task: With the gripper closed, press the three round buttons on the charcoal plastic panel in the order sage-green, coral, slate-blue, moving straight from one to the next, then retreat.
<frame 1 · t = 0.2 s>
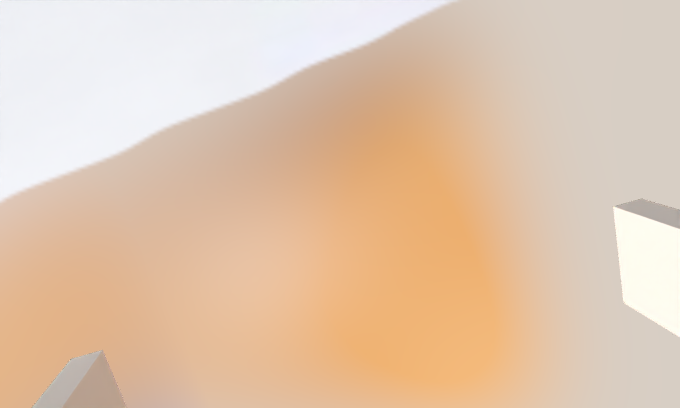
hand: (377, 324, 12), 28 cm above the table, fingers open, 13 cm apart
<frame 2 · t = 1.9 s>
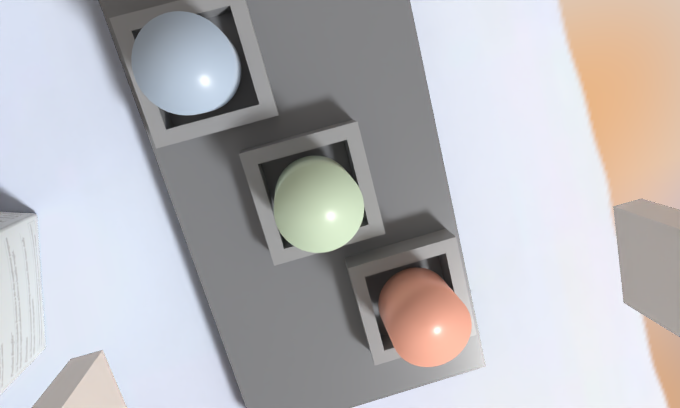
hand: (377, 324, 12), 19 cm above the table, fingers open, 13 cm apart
coral button: (422, 315, 27), point 5 cm above the table, slide at 0.0 cm
sage button: (316, 201, 25), point 5 cm above the table, slide at 0.0 cm
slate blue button: (191, 66, 23), point 5 cm above the table, slide at 0.0 cm
panel: (311, 183, 30), on the table
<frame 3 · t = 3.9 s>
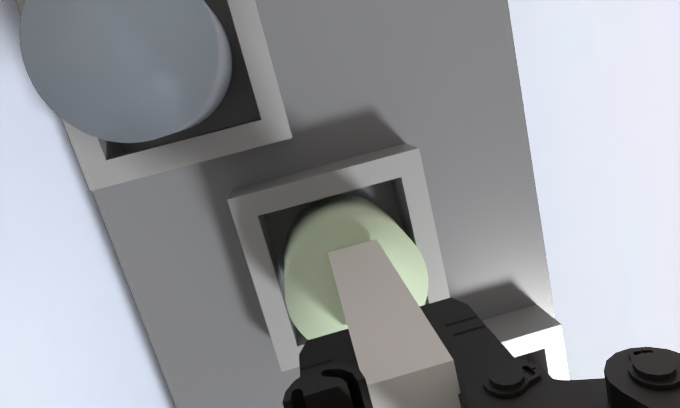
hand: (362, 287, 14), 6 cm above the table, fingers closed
sage button: (349, 269, 16), point 4 cm above the table, slide at 1.2 cm, touching gripper
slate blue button: (142, 55, 13), point 5 cm above the table, slide at 0.0 cm
panel: (335, 233, 20), on the table
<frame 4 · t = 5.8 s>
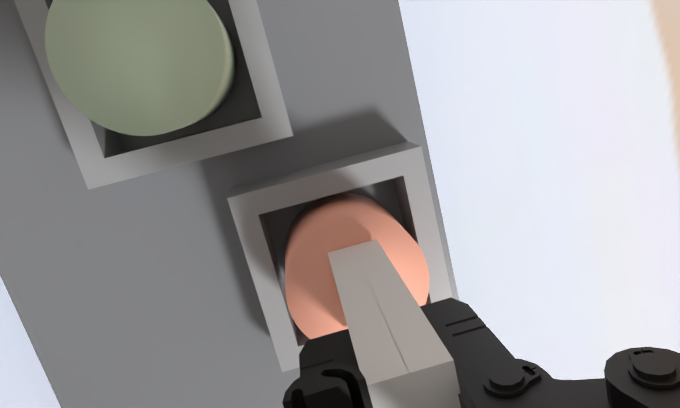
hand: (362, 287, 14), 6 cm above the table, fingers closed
coral button: (350, 267, 16), point 4 cm above the table, slide at 1.3 cm, touching gripper
sage button: (154, 55, 14), point 4 cm above the table, slide at 1.3 cm
panel: (182, 64, 18), on the table
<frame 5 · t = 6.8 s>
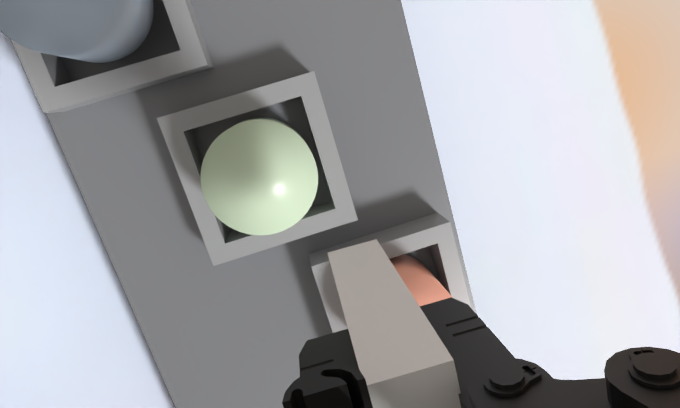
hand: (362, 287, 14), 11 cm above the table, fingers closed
coral button: (401, 311, 22), point 4 cm above the table, slide at 1.4 cm
sage button: (261, 172, 20), point 4 cm above the table, slide at 1.3 cm
panel: (265, 160, 24), on the table
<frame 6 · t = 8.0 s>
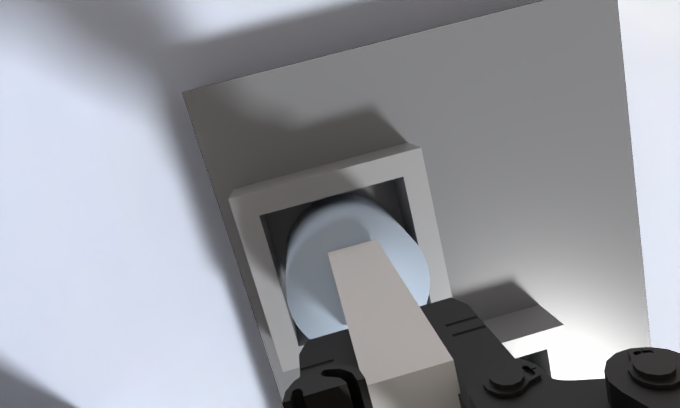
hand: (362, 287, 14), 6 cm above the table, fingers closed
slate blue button: (351, 268, 16), point 4 cm above the table, slide at 1.2 cm, touching gripper
panel: (460, 368, 22), on the table
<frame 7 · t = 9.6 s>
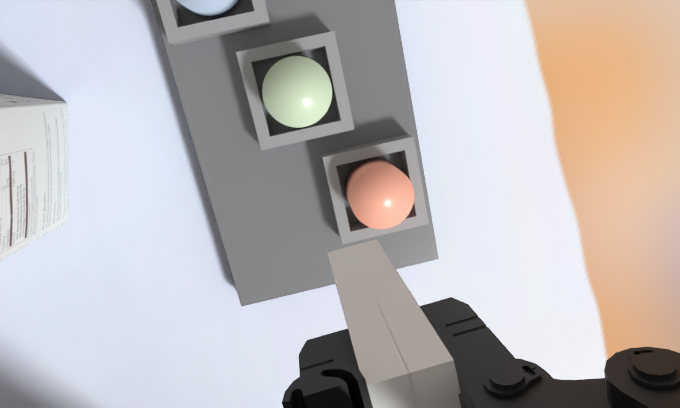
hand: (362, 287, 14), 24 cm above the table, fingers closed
coral button: (377, 192, 34), point 4 cm above the table, slide at 1.4 cm
sage button: (297, 92, 32), point 4 cm above the table, slide at 1.3 cm
panel: (296, 91, 36), on the table
supplement box: (4, 156, 35), on the table
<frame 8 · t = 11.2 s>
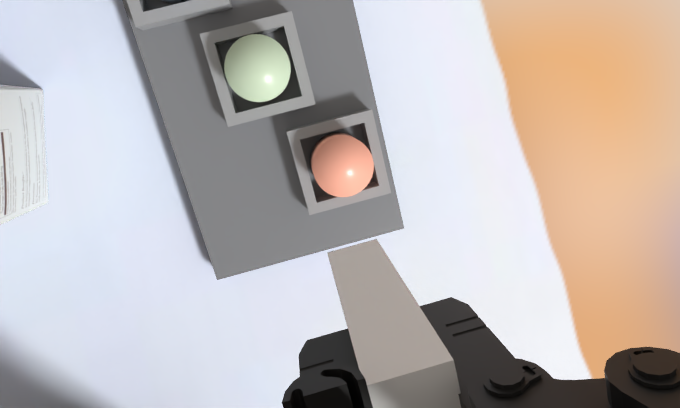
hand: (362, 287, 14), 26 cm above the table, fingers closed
coral button: (340, 163, 36), point 4 cm above the table, slide at 1.4 cm
sage button: (259, 69, 34), point 4 cm above the table, slide at 1.3 cm
panel: (261, 72, 38), on the table
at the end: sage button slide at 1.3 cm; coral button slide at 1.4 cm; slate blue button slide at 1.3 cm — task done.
